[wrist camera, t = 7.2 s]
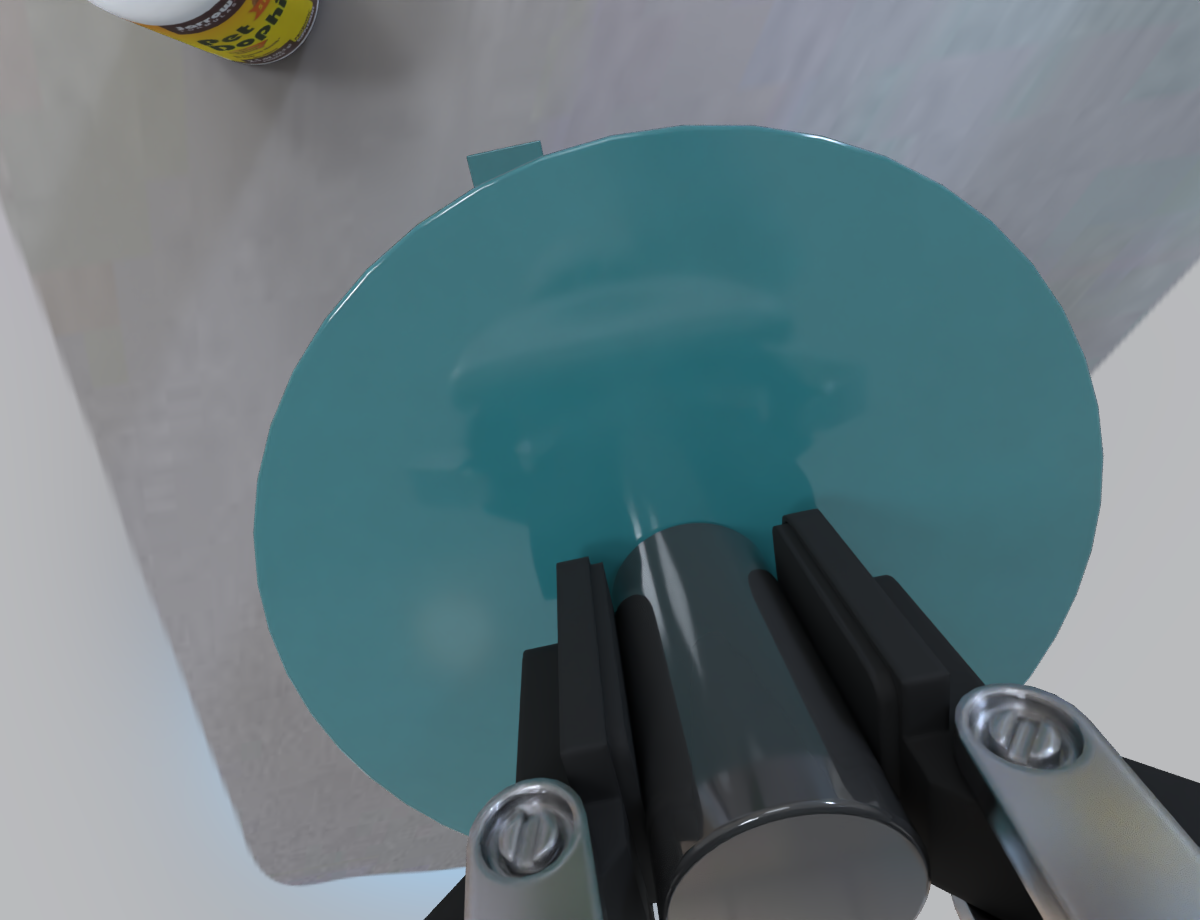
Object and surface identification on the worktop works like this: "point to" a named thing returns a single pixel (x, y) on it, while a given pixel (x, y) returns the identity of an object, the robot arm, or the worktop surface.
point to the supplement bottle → (225, 24)
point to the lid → (678, 486)
